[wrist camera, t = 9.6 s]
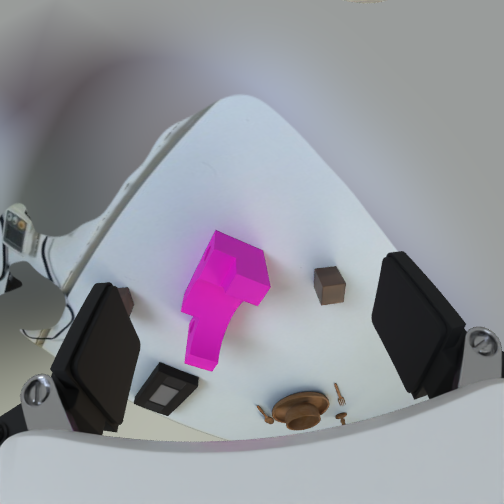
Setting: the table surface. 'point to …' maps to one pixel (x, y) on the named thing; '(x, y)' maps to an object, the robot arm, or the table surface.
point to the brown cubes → (325, 284)
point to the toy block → (221, 294)
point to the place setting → (302, 410)
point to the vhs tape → (165, 389)
